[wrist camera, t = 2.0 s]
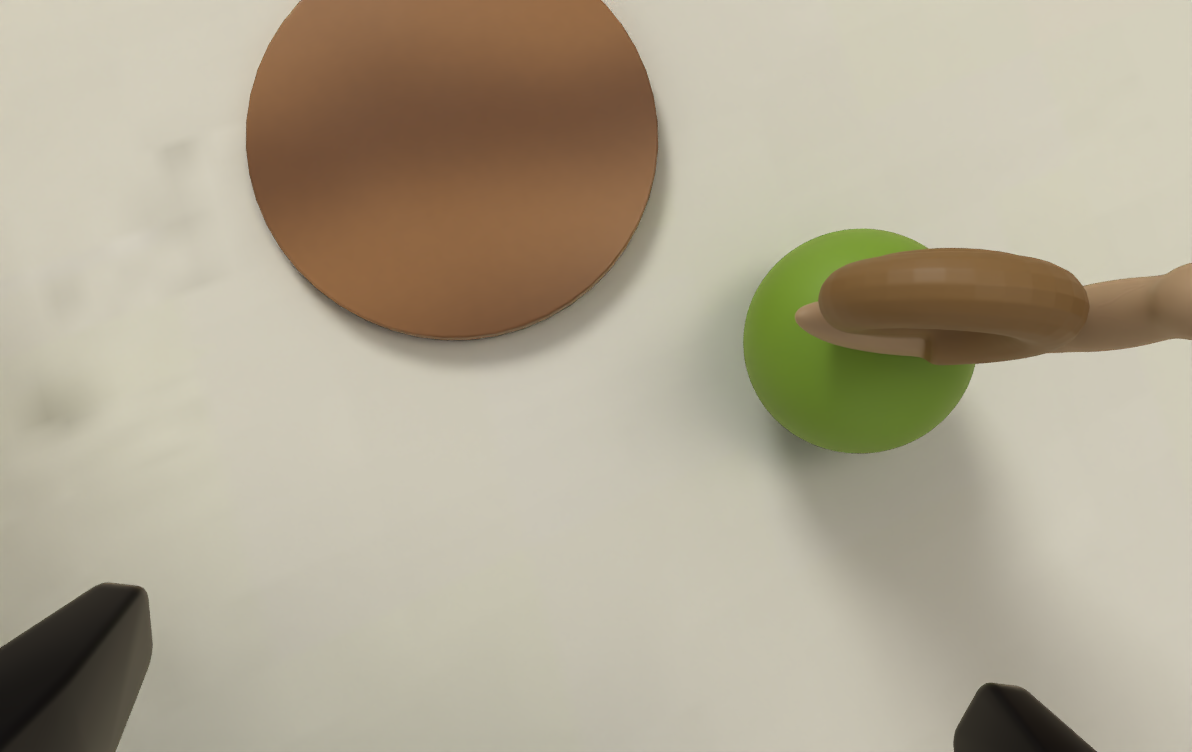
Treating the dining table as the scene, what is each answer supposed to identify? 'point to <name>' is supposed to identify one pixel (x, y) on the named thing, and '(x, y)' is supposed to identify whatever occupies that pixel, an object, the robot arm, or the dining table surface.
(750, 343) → the snail figurine
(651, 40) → the dining table surface
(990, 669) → the dining table surface
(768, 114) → the dining table surface
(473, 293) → the plate
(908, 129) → the dining table surface
